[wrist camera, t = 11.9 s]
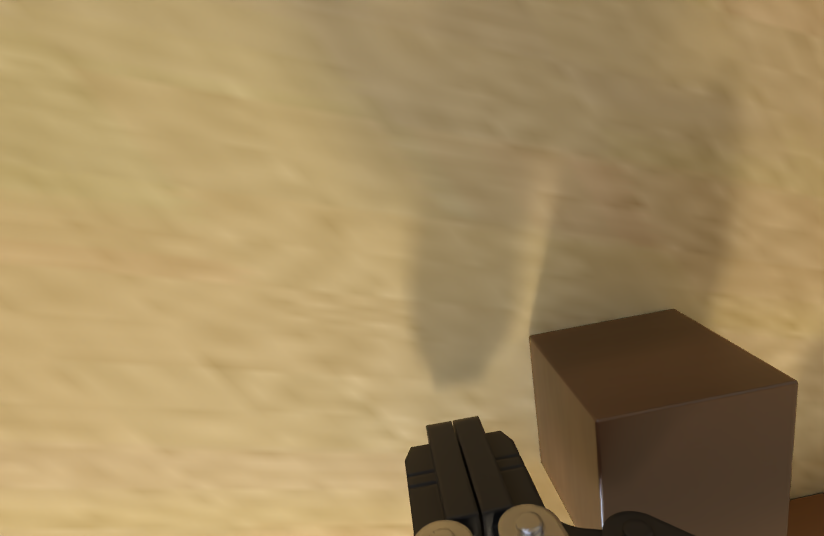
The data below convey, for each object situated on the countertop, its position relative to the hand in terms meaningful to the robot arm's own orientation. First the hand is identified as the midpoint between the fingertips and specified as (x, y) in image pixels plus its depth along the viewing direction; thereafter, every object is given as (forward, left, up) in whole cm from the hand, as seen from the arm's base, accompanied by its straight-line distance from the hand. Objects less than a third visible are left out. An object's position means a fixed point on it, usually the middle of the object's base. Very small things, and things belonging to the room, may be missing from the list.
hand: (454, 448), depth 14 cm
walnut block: (0, +5, -1) cm, 5 cm away
